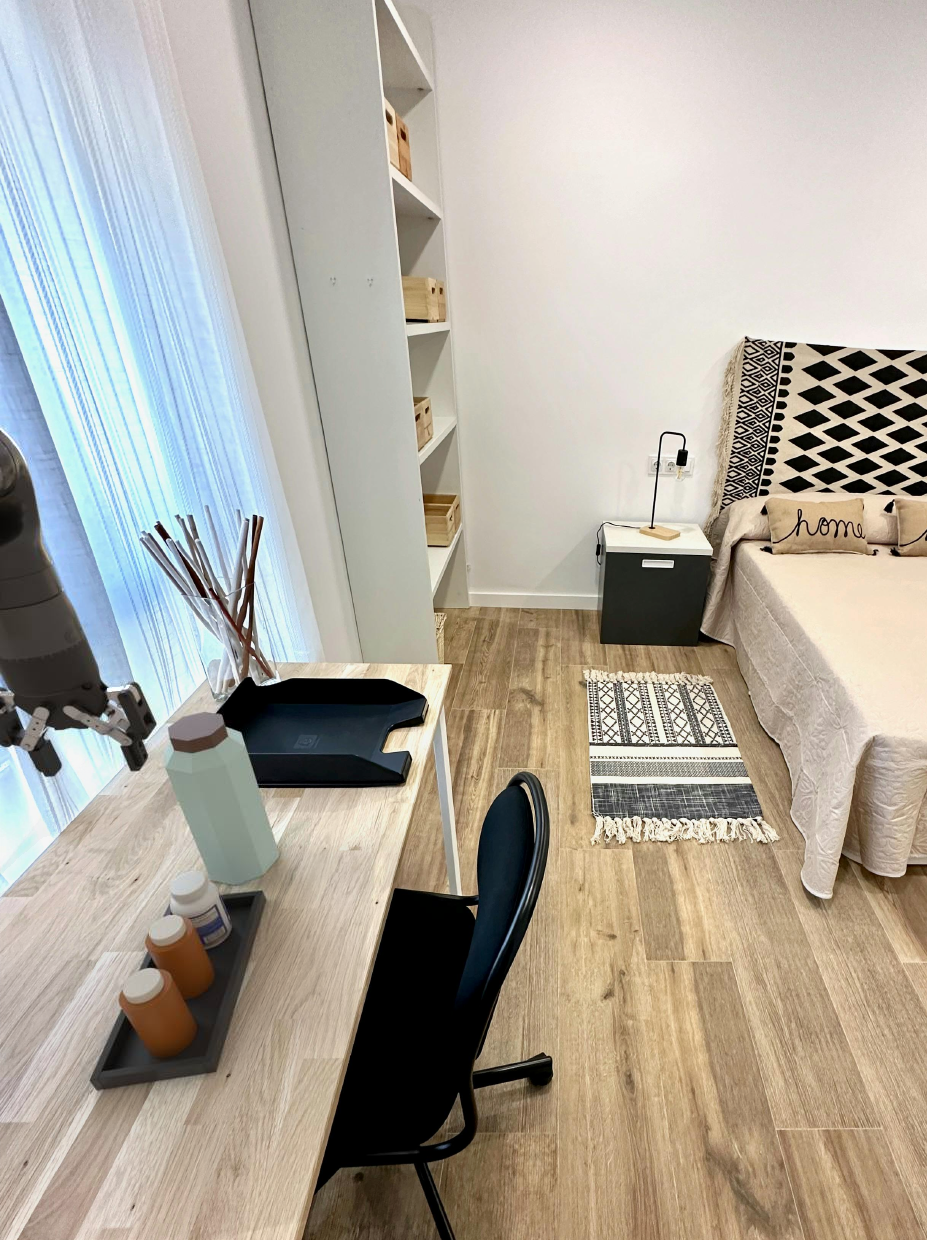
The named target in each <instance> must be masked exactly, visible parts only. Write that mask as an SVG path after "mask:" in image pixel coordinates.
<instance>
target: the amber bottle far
mask: <svg viewBox="0 0 927 1240" xmlns="http://www.w3.org/2000/svg"><path fill="white" fill-rule="evenodd" d="M118 1004H119V1007H120V1008H121V1009H123V1011H124V1013H125V1014H126V1016H127V1018H128V1019H129V1021H130V1022H131V1024H132V1026H133V1027H134V1029H135V1030H136V1032H137V1034H138V1035H139V1037H140V1038H141V1040H142V1042H143V1043H144V1045H145V1047H146V1048H147V1050H148V1051H149V1053H150V1054H151V1055H152V1056H153V1057H155V1058H159V1059H165V1058H169V1057H172V1056H175V1055H177V1054H179V1053H180V1052H182V1051H183V1050H184V1049H186V1048H187V1047H188V1046H189V1045H190V1044H191V1042H192V1041H193V1039H194V1037H195V1035H196V1032H197V1025H196V1022H195V1021H194V1019H193V1017H192V1015H191V1013H190V1011H189V1009H188V1007H187V1005H186V1003H185V1001H184V999H183V998H182V996H181V994H180V992H179V990H178V988H177V986H176V984H175V982H174V980H173V978H172V977H171V975H170V973H169V972H167V971H165V970H162V969H154V968H147V969H143V970H140V971H139V970H138V971H136V972H135V973H133V974H132V975H130V976H129V977H128V978H127V979H126V980H125V982H124V984H123V985H122V989H121V991H120V993H119V995H118Z"/></svg>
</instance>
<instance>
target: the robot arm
mask: <svg viewBox="0 0 927 1240" xmlns="http://www.w3.org/2000/svg"><path fill="white" fill-rule="evenodd" d="M25 459H26V458H25V457H24V455H23V453H22V452H21V450H20V449H19V447H18V446H17V443H15V441H14V440H13V439H12V438H11V436H9V434H8V433H7V432H6V431H4V429H2V428H1V427H0V675H1V677H2V679H3V681H4V684H5V686H6V687H7V688H5V687H3V686H0V746H1V747H3V748H11V746H15V747H19V748H21V750H23V751H25V752H27V754H28V756H29V758H30V759H31V761H32V764H33V765H34V768H35V770H37V771H38V772H39V773H42V774H43V776H44V777H45V778H52V777H55V776H56V775H57V774H58V773H59V772H60V771H61V769H62V767H63V763H62V761H61V759H60V757H59V755H58V753H57V751H56V749H55V747H54V745H53V743H52V741H51V739H50V738H49V739H48V738H47V739H46V738H45V737H46V736H47V733H49V730H50V729H51V728H52V729H54V731H66V730H69V729H75V730H88V729H89V728H90V729H92V731H95V732H96V733H98V734H99V735H101V736H108V737H110V738H112V739H113V740H114V741H116V742H117V743H119V744H121V745H120V746H119V748H120V749H121V752H122V754H123V757H124V759H125V761H126V764H127V766H128V768H129V771H130V772H140V771H141V769H142V768H143V767H144V765H145V764H146V762H147V761H148V759H149V753H148V751H147V749H146V746H145V743H144V741H146V740H147V739H148V738H150V735H151V734H152V733H153V731H154V730H155V729H156V727H157V721H156V719H155V716H154V714H153V712H152V710H151V708H150V705H149V703H148V701H147V699H146V696H145V694H144V693H143V690H142V688H141V685H140V684H139V683H138V682H136V681H132V680H131V681H128V682H127V683H126V684H125V685H124V686H115V687H114V686H113V687H109V686H108V685H107V684H106V683H105V682H104V681H103V680H102V678H101V674H100V668H99V665H98V662H97V660H96V658H95V655H94V652H93V650H92V648H91V645H90V642H89V641H88V638H87V635H86V633H85V630H84V628H83V625H82V623H81V621H80V618H79V616H78V614H77V611H76V609H75V607H74V605H73V603H72V602H71V600H70V598H69V597H68V595H67V593H66V592H65V589H64V588H63V585H62V583H61V580H60V578H59V575H58V573H57V571H56V570H57V569H56V568H55V566H54V565H55V564H54V563H53V561H52V558H51V556H50V554H49V552H48V550H47V548H46V546H45V543H44V538H43V531H42V521H41V516H40V510H39V506H38V499H37V495H36V491H35V486H34V482H33V478H32V475H31V471H30V469H29V466H28V464H27V461H26V460H25ZM7 689H8V690H7ZM110 701H113V702H114V703H115V704H116V705H114V704H113V703H111V702H110ZM16 708H18V709H20V710H22V711H23V712H25V713H26V714H27V715H29V716H31V719H30V720H29V723H28V724H27V726H26V729H25V728H24V726H23V723H22V721H21V719H20V716H19V714H18V711H17V709H16ZM121 709H122V710H121ZM103 715H105V716H106V717H107V720H106V721H105V720H103V719H101V718H102V716H103Z"/></svg>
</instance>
